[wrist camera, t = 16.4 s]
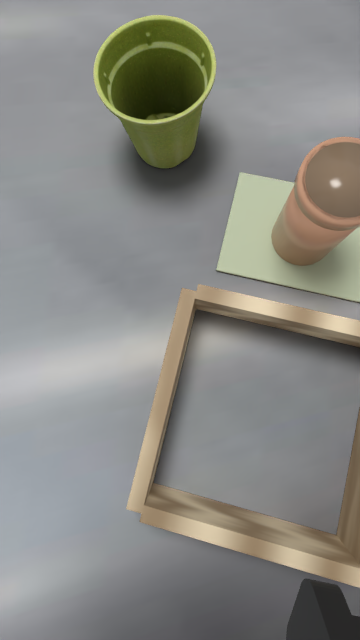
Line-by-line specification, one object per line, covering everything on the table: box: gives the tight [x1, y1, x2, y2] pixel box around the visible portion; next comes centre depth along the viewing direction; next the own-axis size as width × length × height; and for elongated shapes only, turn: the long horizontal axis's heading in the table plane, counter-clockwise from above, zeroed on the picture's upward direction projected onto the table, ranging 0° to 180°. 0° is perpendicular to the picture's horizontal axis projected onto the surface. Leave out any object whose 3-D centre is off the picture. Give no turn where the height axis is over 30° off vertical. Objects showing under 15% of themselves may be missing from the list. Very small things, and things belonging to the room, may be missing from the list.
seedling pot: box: [271, 137, 360, 266], centre depth 27 cm, size 6×6×10 cm
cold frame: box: [126, 284, 360, 588], centre depth 28 cm, size 18×18×5 cm
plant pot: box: [93, 15, 216, 168], centre depth 31 cm, size 9×9×9 cm
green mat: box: [216, 172, 360, 303], centre depth 32 cm, size 14×10×1 cm
